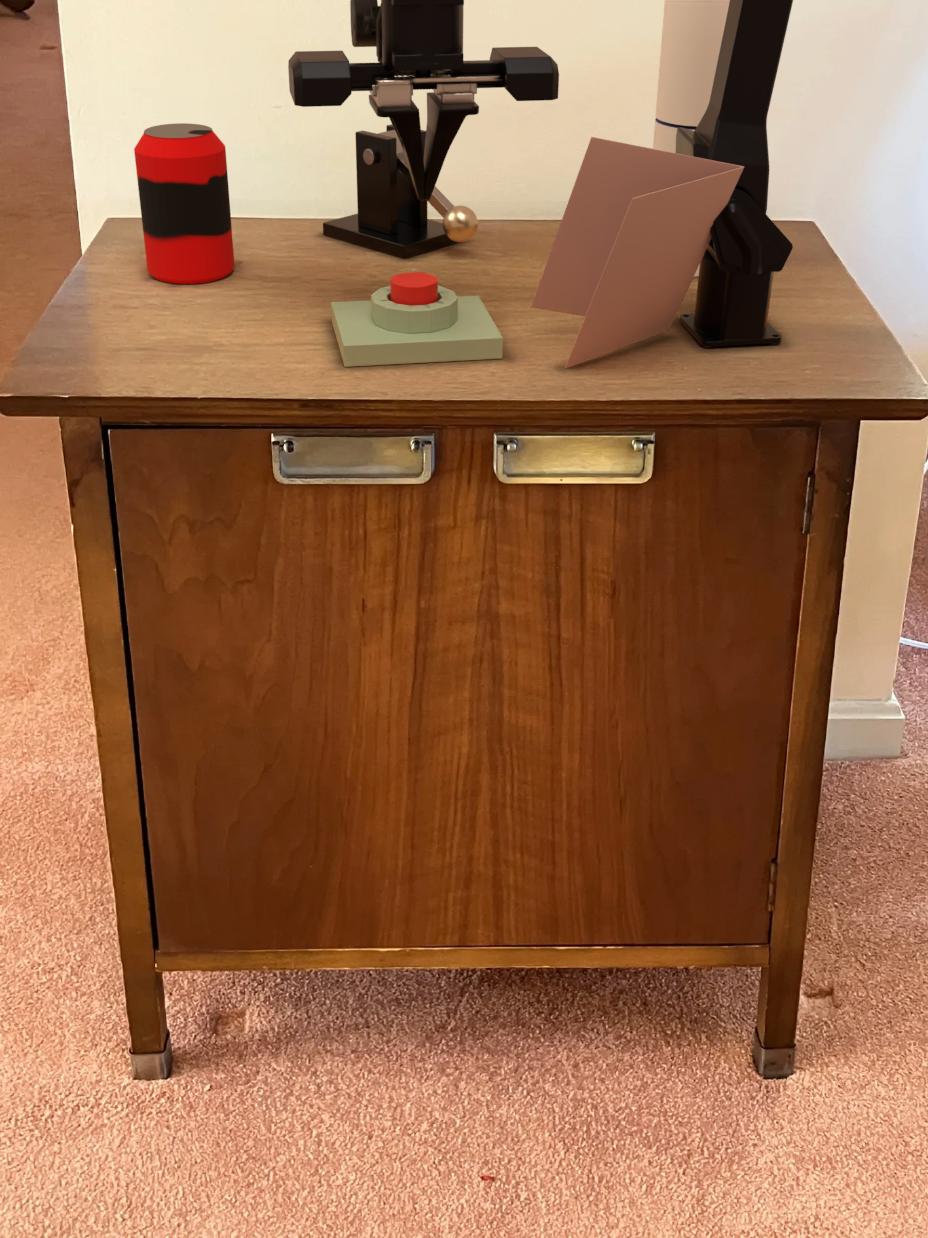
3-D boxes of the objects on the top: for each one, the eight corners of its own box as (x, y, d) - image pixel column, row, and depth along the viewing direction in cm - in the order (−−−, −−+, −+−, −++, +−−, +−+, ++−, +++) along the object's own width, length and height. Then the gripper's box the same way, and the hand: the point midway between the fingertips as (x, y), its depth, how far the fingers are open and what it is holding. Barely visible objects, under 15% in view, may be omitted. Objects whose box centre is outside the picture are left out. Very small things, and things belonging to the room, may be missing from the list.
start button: (441, 308, 104) (441, 285, 103) (394, 310, 103) (393, 287, 102) (433, 293, 107) (433, 271, 106) (388, 295, 106) (387, 273, 105)
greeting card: (667, 322, 109) (742, 159, 97) (682, 386, 104) (762, 222, 93) (529, 299, 106) (589, 129, 95) (538, 364, 101) (603, 193, 90)
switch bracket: (463, 241, 130) (465, 134, 125) (404, 258, 125) (403, 148, 120) (382, 219, 136) (380, 116, 131) (322, 235, 131) (318, 128, 126)
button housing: (502, 358, 103) (503, 314, 101) (344, 367, 101) (342, 321, 100) (478, 315, 112) (479, 273, 110) (331, 322, 110) (330, 279, 108)
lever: (476, 245, 126) (490, 218, 123) (452, 252, 124) (466, 225, 121) (388, 153, 129) (400, 125, 126) (364, 158, 127) (375, 130, 124)
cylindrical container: (631, 269, 123) (655, -38, 110) (660, 248, 128) (685, -46, 115) (707, 281, 120) (740, -32, 107) (733, 260, 125) (767, -41, 112)
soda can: (215, 288, 117) (202, 143, 111) (133, 281, 118) (116, 137, 112) (247, 262, 123) (237, 124, 117) (169, 256, 125) (155, 118, 118)
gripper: (529, -46, 102) (522, 168, 110) (277, -44, 99) (289, 176, 107) (565, -29, 92) (555, 205, 101) (288, -26, 89) (301, 214, 98)
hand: (423, 198), depth 102 cm, fingers closed
